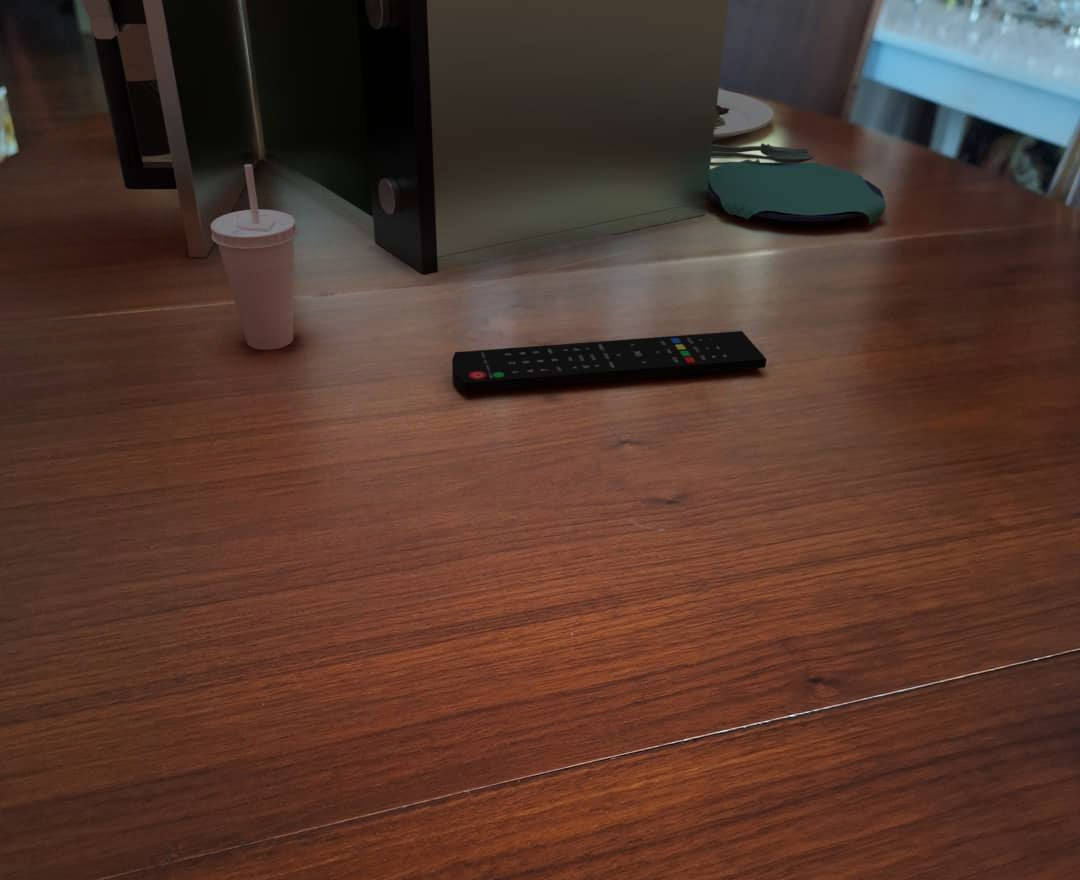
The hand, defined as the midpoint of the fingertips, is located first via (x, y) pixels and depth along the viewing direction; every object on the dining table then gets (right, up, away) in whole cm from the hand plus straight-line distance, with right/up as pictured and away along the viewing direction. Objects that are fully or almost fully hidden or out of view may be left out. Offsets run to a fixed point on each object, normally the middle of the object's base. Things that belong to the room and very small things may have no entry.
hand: (112, 34), depth 90 cm
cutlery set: (+65, -4, +30) cm, 71 cm away
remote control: (+42, -31, -9) cm, 53 cm away
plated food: (+54, +15, +55) cm, 79 cm away
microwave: (+28, -3, +29) cm, 41 cm away
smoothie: (+15, -28, -5) cm, 32 cm away
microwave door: (+1, -7, +22) cm, 23 cm away
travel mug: (-11, +5, +40) cm, 41 cm away
